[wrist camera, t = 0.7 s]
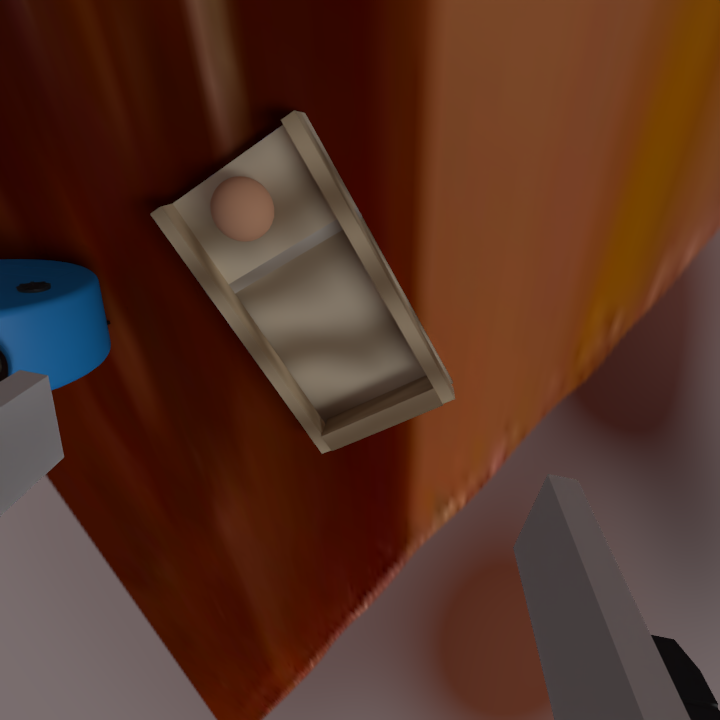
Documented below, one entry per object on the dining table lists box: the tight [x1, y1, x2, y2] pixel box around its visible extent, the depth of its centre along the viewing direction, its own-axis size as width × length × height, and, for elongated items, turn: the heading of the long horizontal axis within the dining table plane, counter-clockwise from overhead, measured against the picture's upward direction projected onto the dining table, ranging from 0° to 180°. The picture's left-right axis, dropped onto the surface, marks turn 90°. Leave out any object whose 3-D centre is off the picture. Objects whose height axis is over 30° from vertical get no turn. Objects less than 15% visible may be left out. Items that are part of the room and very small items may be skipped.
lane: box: [150, 110, 455, 454], centre depth 33 cm, size 22×12×3 cm, turn 30°
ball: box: [210, 176, 274, 242], centre depth 29 cm, size 4×4×4 cm
